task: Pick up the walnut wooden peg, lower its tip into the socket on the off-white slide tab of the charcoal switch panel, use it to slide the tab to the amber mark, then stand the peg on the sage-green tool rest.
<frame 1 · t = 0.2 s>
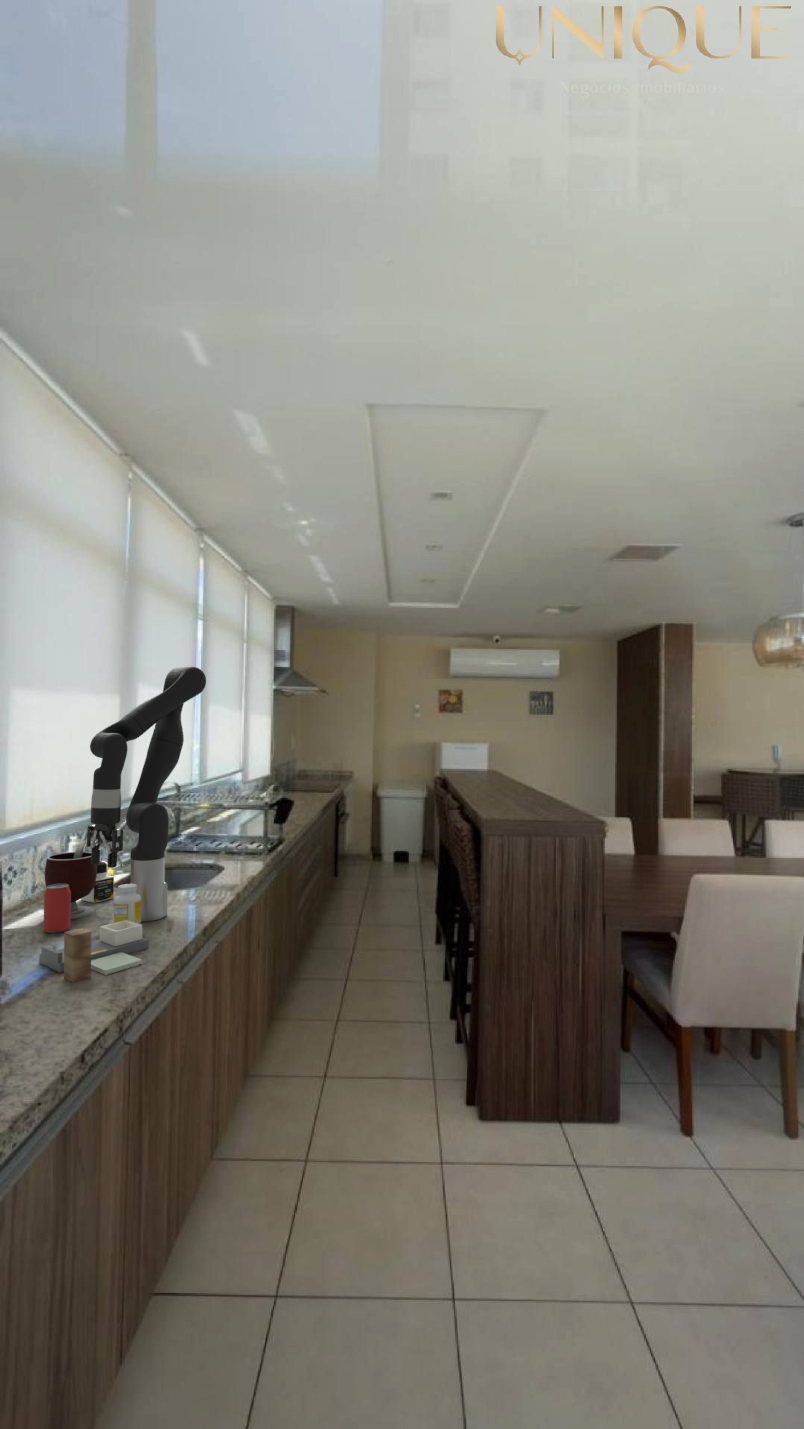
hand: (103, 865, 190), 17 cm above the counter, tool pointing down, fingers open, 8 cm apart
slide tab: (121, 932, 173), point 4 cm above the counter, slide at 0.0 cm
tool rest: (113, 965, 161), on the counter
peg: (77, 977, 153), on the counter
switch panel: (95, 955, 168), on the counter
mate gourd: (72, 913, 205), on the counter
supplement bottle: (127, 934, 185), on the counter
medicine bottle: (97, 899, 222), on the counter
beer can: (57, 931, 188), on the counter
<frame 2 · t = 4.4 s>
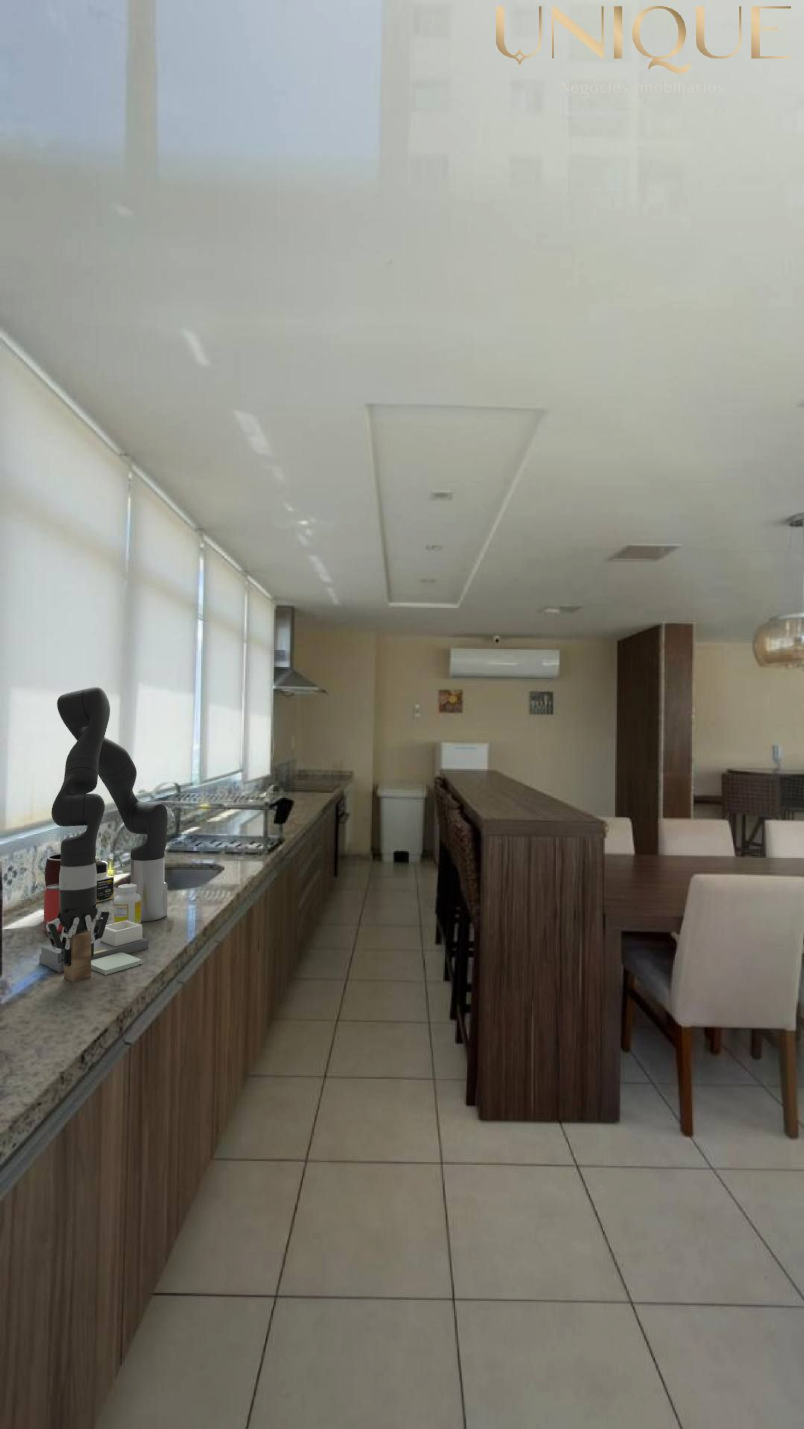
hand: (77, 962, 153), 3 cm above the counter, tool pointing down, fingers closed on peg, 4 cm apart
peg: (77, 977, 153), on the counter, touching gripper
everything else where it was.
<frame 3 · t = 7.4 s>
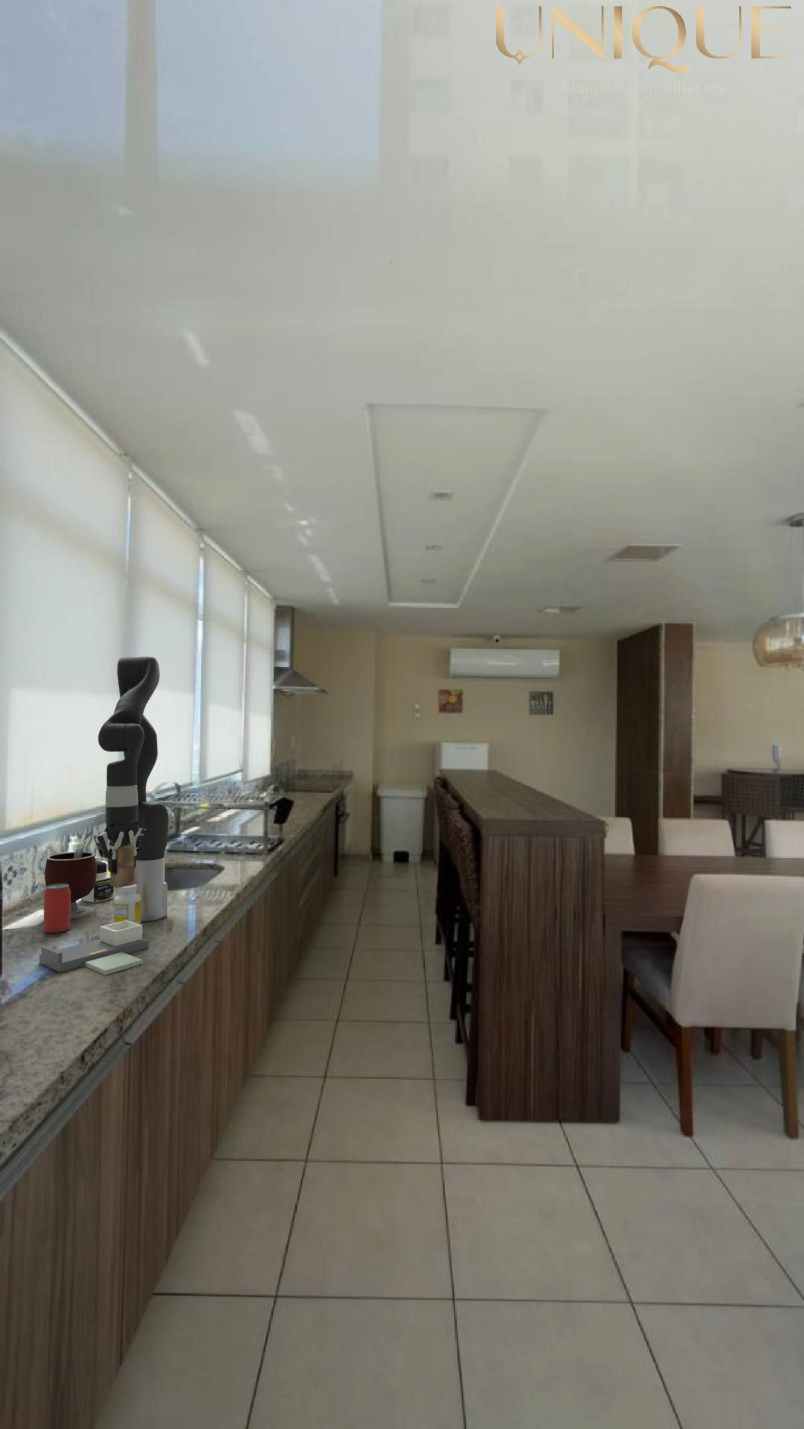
hand: (122, 872, 173), 19 cm above the counter, tool pointing down, fingers closed on peg, 4 cm apart
peg: (122, 885, 173), point 16 cm above the counter, touching gripper
everything else where it was.
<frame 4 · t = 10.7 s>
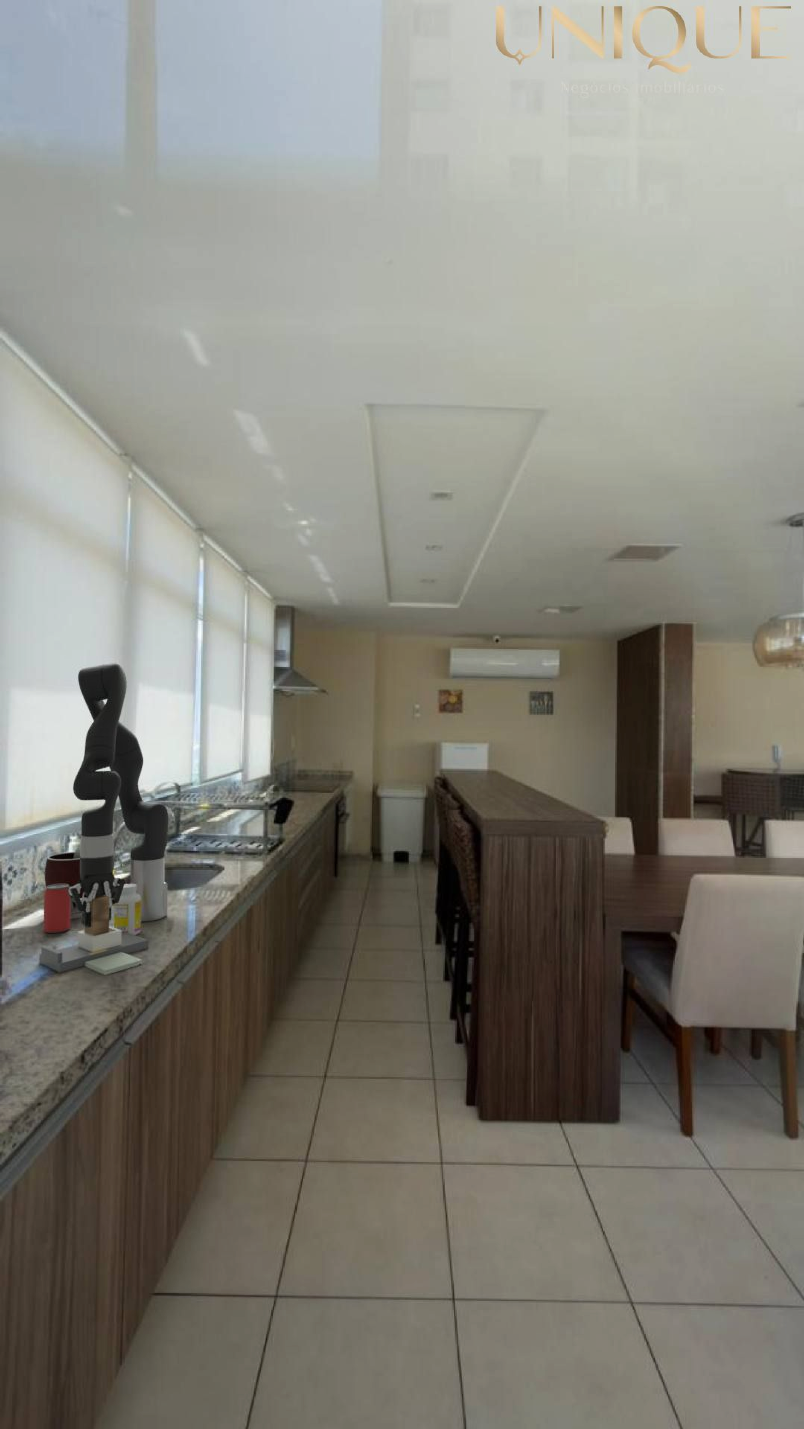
hand: (96, 924, 168), 7 cm above the counter, tool pointing down, fingers closed on peg, 4 cm apart
slide tab: (99, 938, 168), point 4 cm above the counter, slide at 5.6 cm, touching peg
peg: (96, 938, 168), point 4 cm above the counter, touching gripper, slide tab
everything else where it was.
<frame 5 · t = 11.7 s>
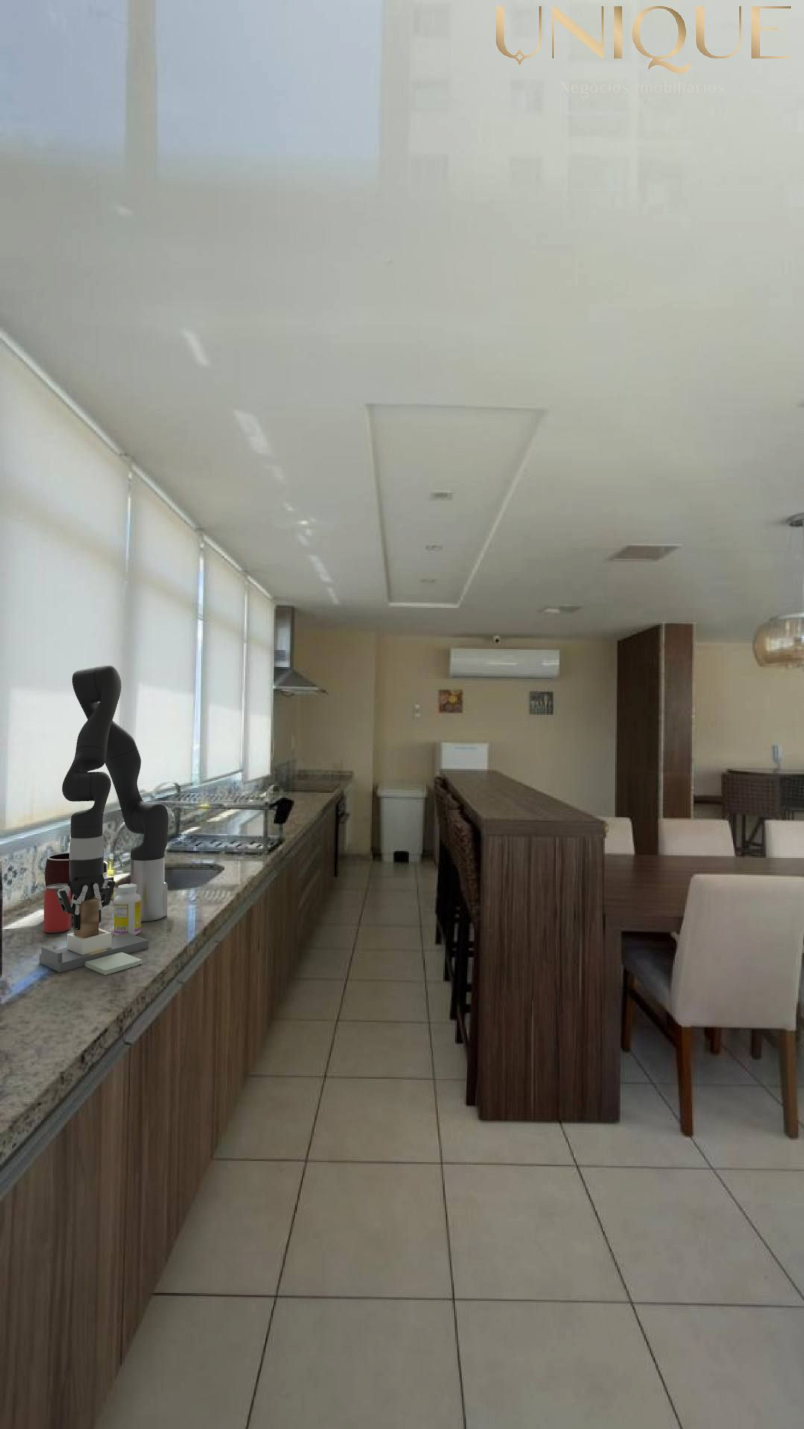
hand: (86, 927, 166), 7 cm above the counter, tool pointing down, fingers closed on peg, 4 cm apart
slide tab: (89, 940, 166), point 4 cm above the counter, slide at 8.1 cm, touching peg
peg: (86, 940, 166), point 4 cm above the counter, touching gripper, slide tab
everything else where it was.
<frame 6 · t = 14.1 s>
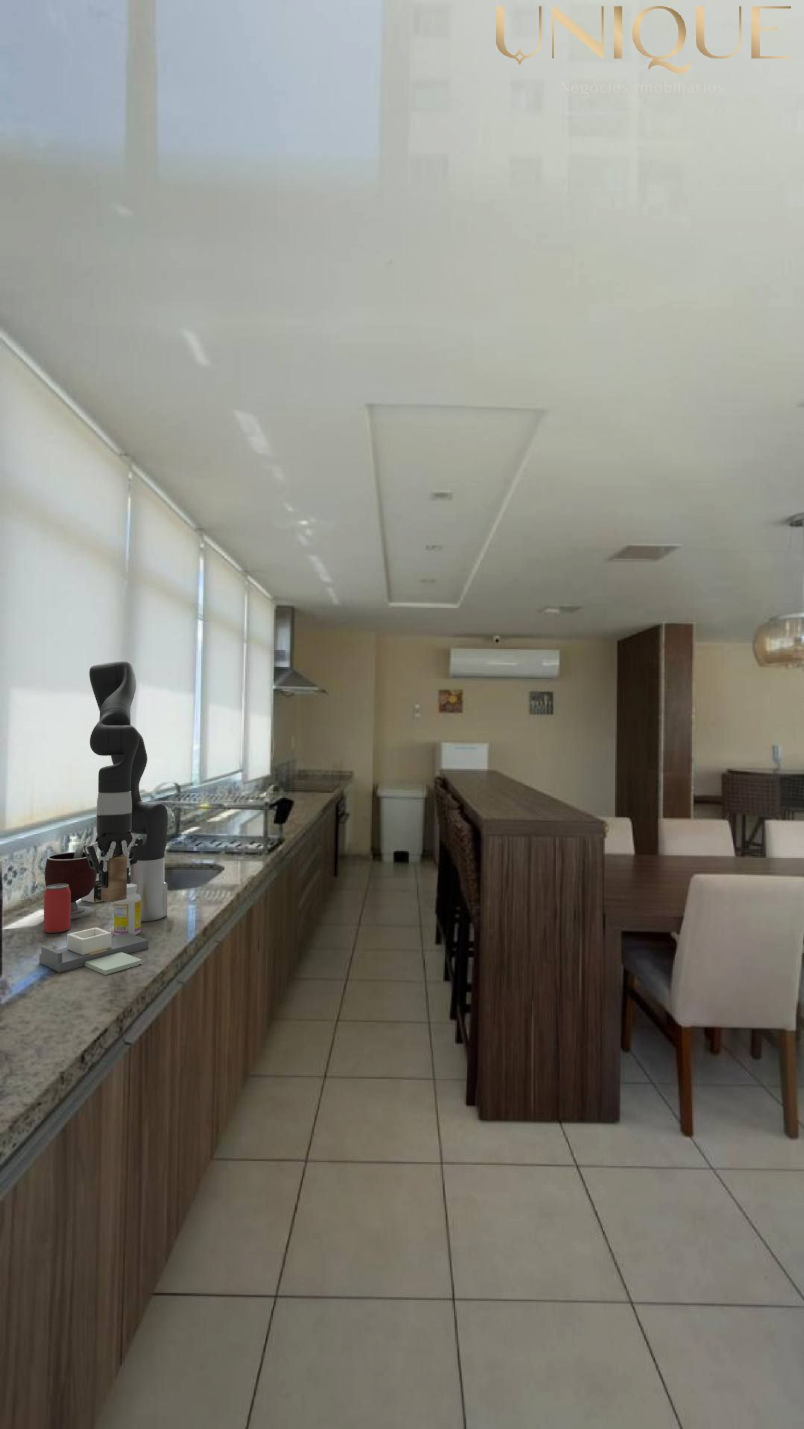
hand: (113, 885, 161), 18 cm above the counter, tool pointing down, fingers closed on peg, 4 cm apart
slide tab: (89, 940, 166), point 4 cm above the counter, slide at 8.1 cm
peg: (113, 899, 161), point 15 cm above the counter, touching gripper
everything else where it was.
when the fingers open (5 cm above the counter, at t = 16.3 s): peg stays where it is, resting on tool rest.
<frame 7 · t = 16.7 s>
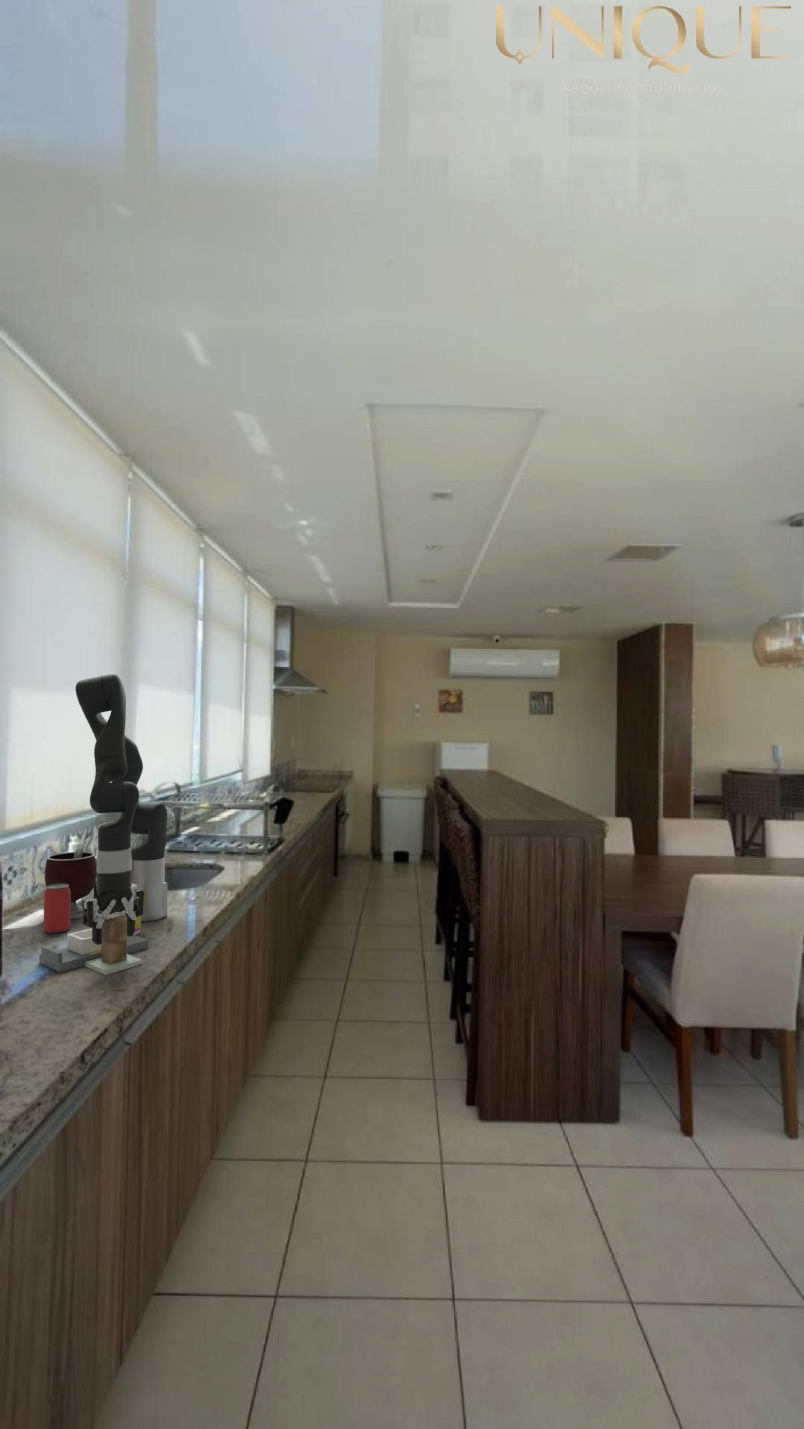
hand: (113, 939, 161), 6 cm above the counter, tool pointing down, fingers open, 7 cm apart
peg: (114, 960, 161), point 1 cm above the counter, touching tool rest
everything else where it was.
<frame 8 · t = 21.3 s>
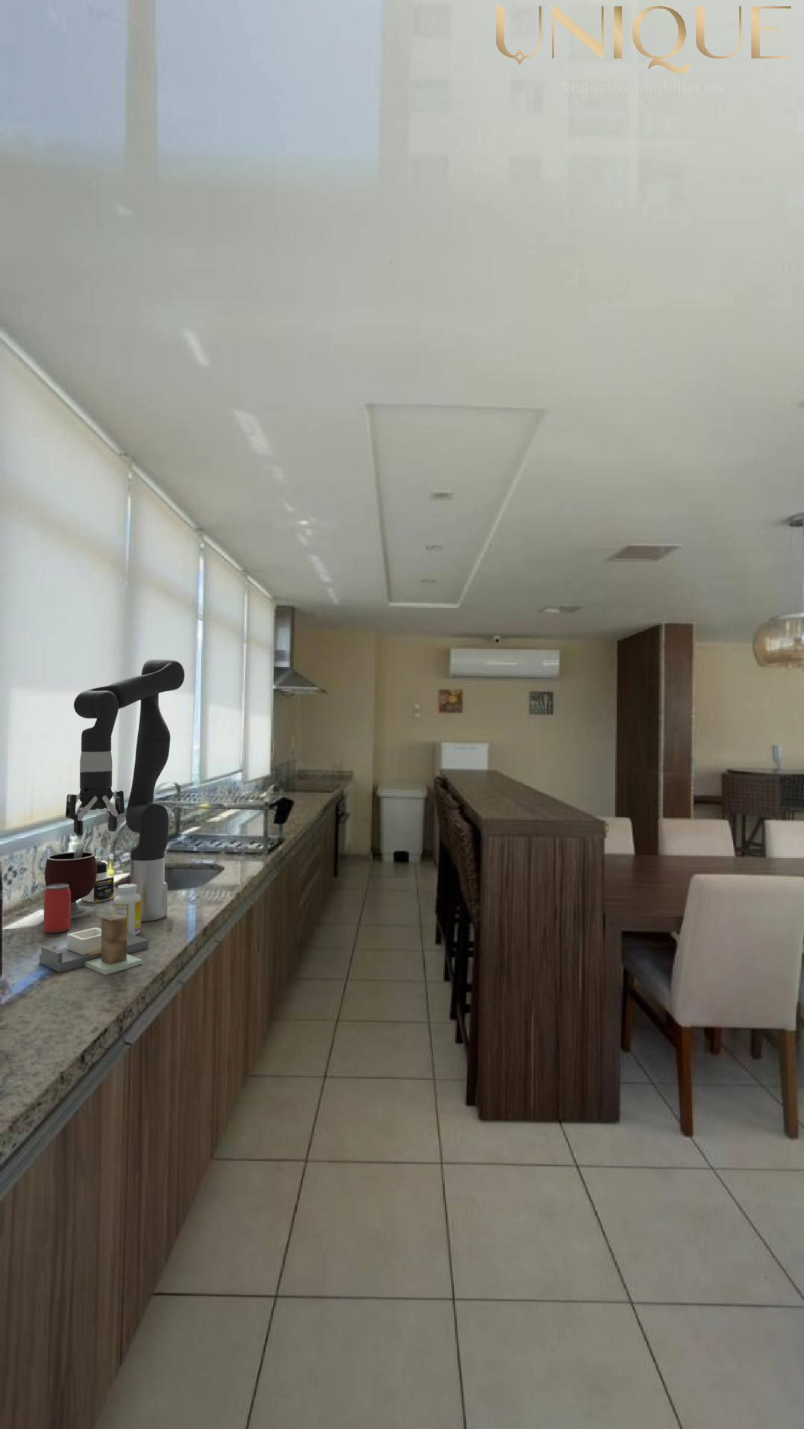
hand: (95, 833, 176), 28 cm above the counter, tool pointing down, fingers open, 8 cm apart
nothing on the counter moved.
at the end: slide tab slide at 8.1 cm; peg 0.1 cm off-centre on the tool rest, point 1.0 cm above the tool rest's base; peg tilted 0° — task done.
